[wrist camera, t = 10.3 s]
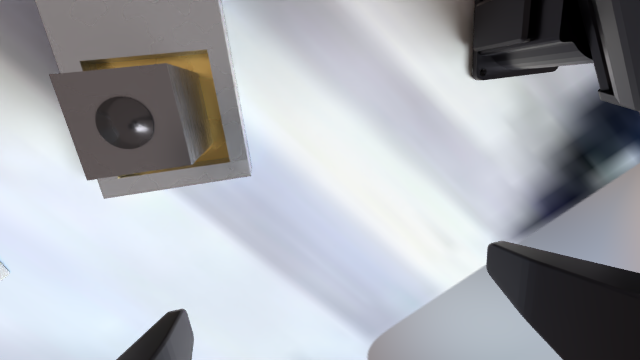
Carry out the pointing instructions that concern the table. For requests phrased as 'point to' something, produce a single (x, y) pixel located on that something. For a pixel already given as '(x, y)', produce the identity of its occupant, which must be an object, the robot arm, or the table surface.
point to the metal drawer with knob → (134, 118)
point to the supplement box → (3, 272)
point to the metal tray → (156, 48)
